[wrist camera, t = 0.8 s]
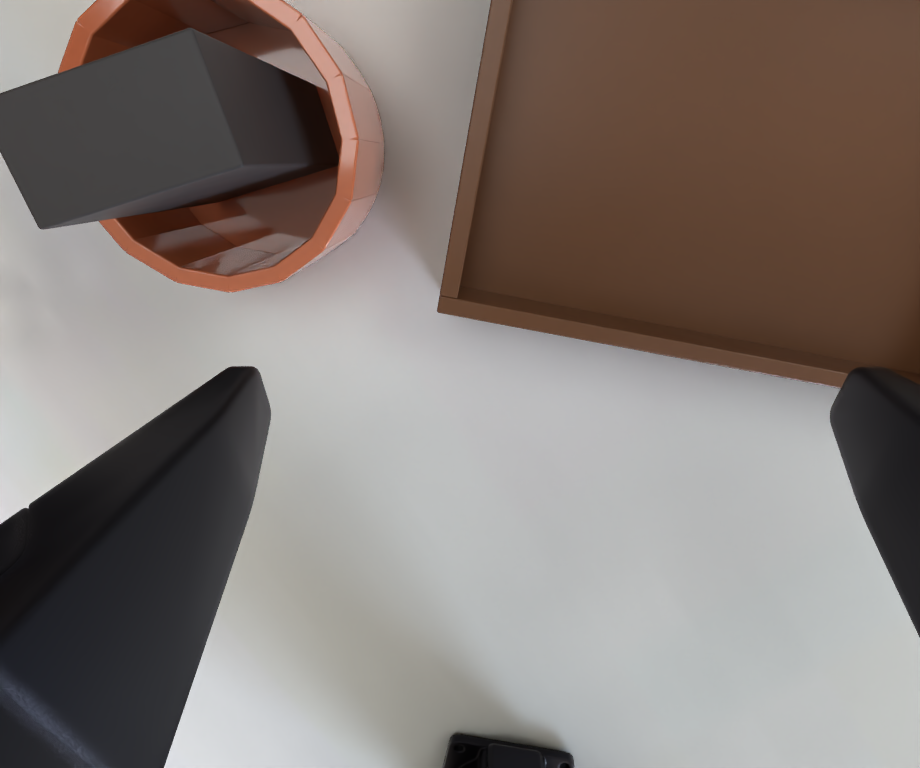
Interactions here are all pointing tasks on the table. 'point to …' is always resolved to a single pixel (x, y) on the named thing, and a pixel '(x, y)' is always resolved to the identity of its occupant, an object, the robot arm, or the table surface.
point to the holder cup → (269, 209)
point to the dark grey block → (160, 131)
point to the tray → (698, 181)
